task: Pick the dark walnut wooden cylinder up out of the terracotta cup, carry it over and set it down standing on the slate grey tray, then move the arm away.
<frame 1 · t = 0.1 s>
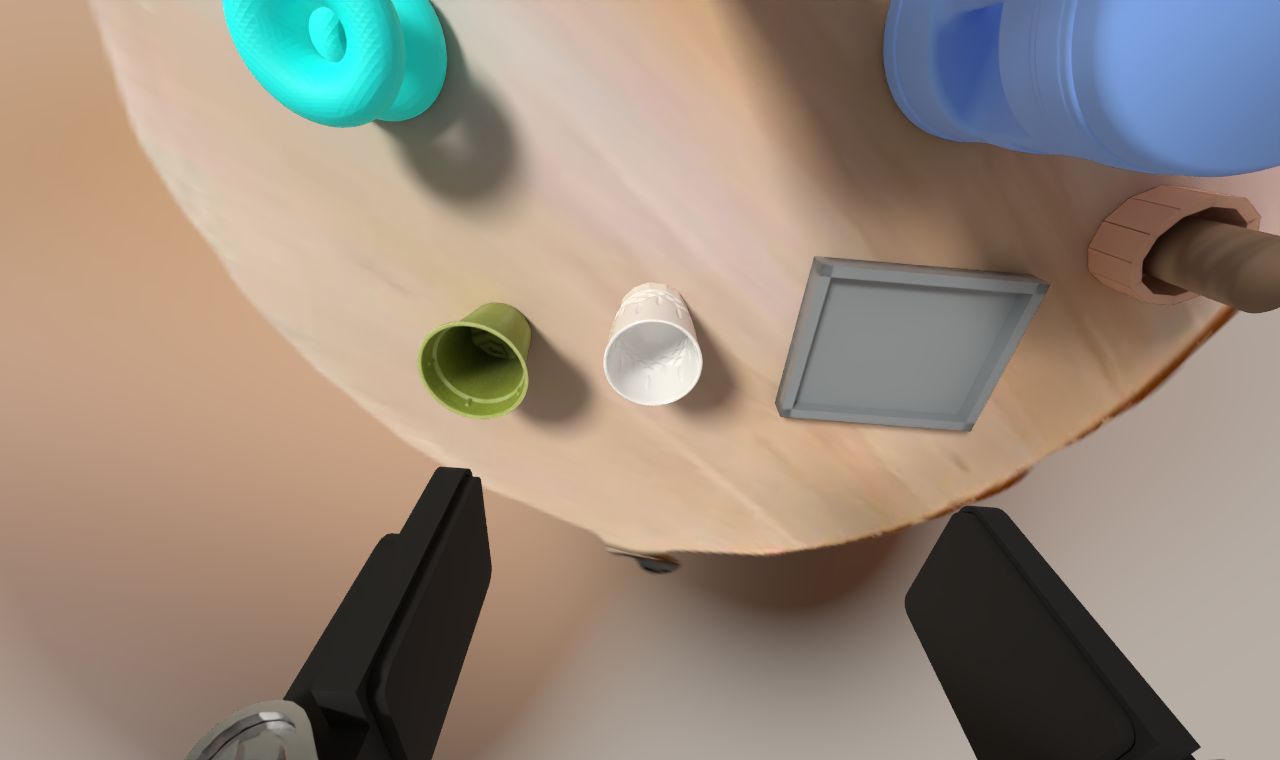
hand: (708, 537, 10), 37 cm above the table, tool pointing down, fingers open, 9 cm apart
water jug: (989, 18, 35), on the table
donuts: (386, 44, 36), on the table
walnut cylinder: (1149, 240, 42), point 1 cm above the table, touching terracotta cup
plant pot: (501, 329, 48), on the table
white cup: (652, 314, 47), on the table
terracotta cup: (1143, 238, 42), on the table
slate tray: (892, 344, 48), on the table
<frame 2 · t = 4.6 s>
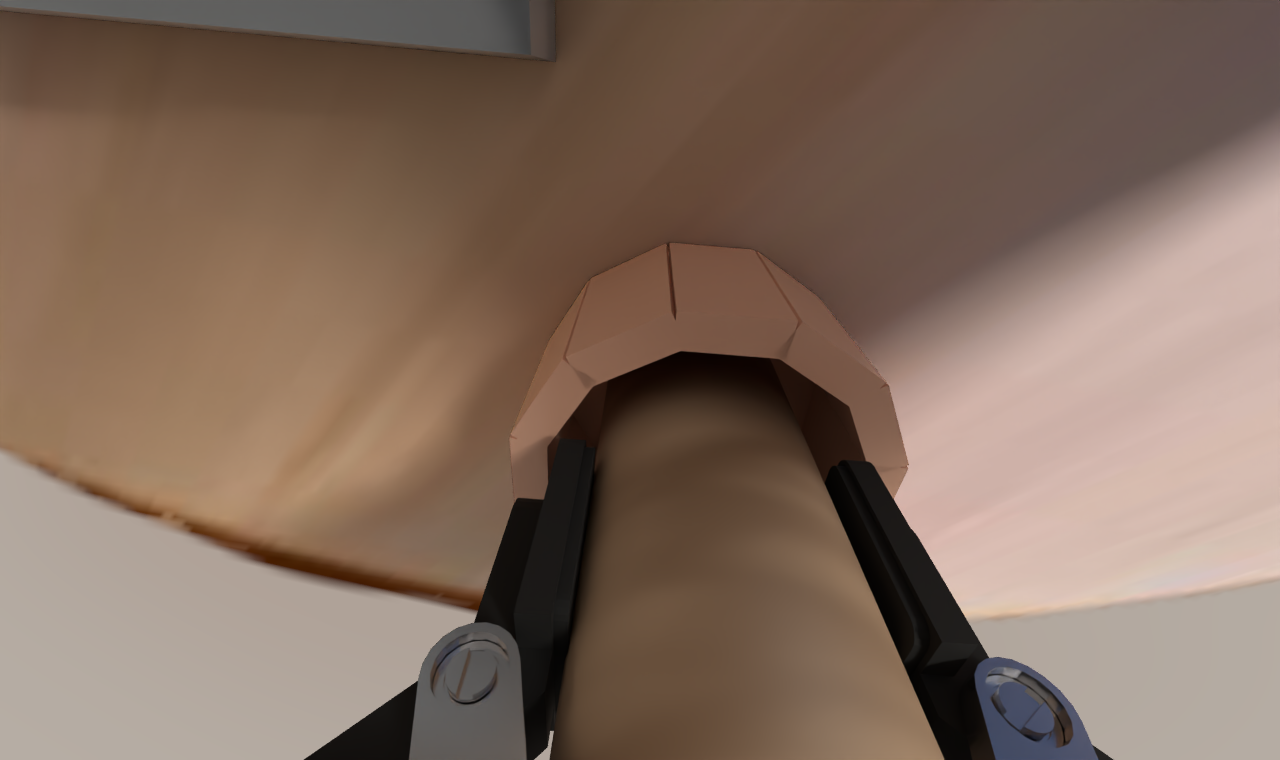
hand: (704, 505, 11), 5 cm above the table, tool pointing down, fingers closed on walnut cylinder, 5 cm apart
walnut cylinder: (691, 396, 14), point 1 cm above the table, touching gripper, terracotta cup
terracotta cup: (689, 386, 15), on the table
when the fingers open (7 cm above the table, at t = 11.6 s): walnut cylinder drops 1 cm, resting on slate tray.
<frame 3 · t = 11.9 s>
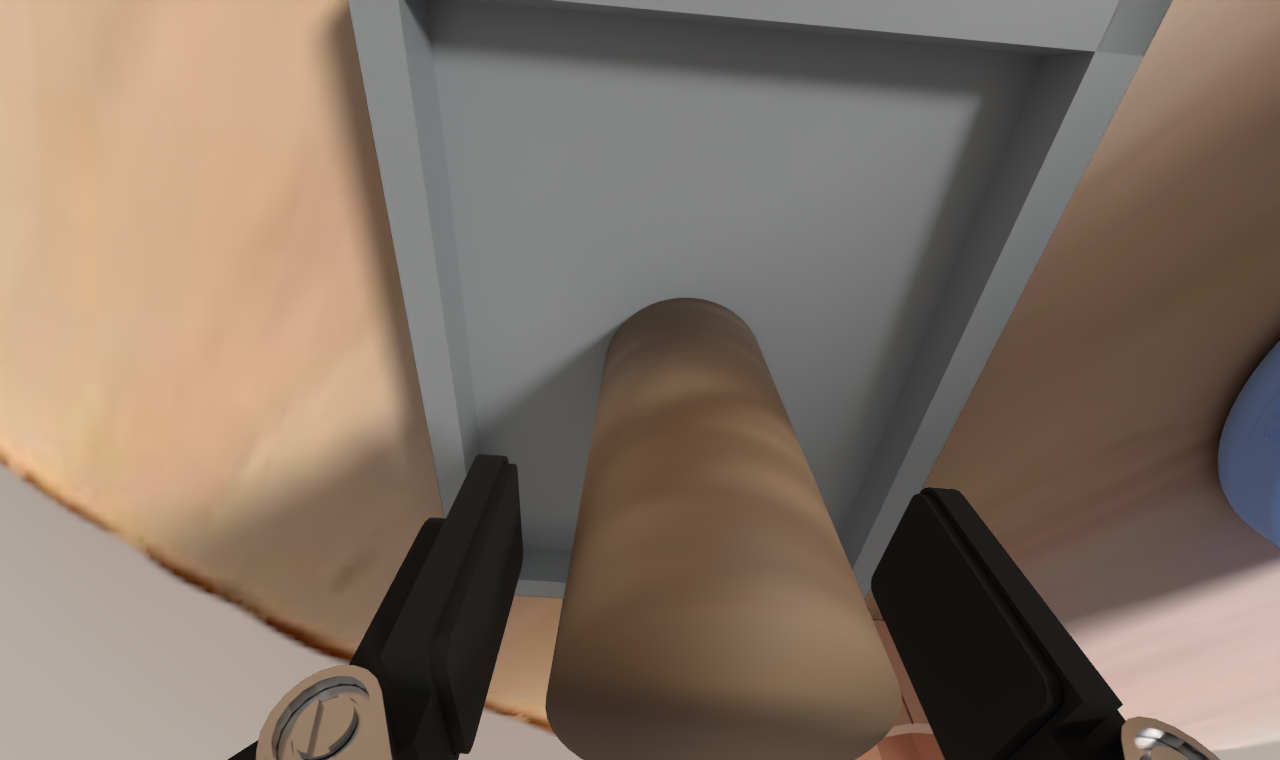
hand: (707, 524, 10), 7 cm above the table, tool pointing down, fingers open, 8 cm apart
walnut cylinder: (682, 371, 16), point 1 cm above the table, touching slate tray
terracotta cup: (865, 669, 26), on the table
slate tray: (686, 356, 16), on the table
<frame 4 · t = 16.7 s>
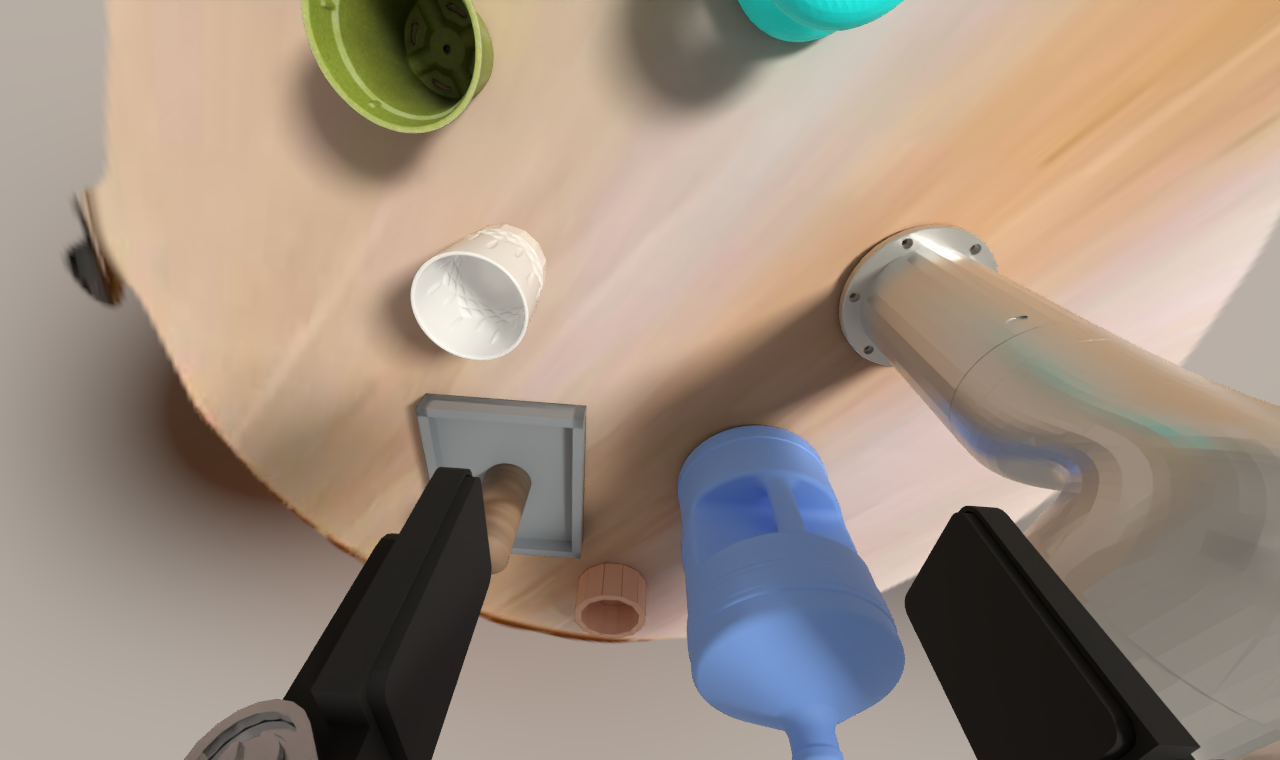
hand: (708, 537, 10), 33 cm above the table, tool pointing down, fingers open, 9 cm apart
water jug: (748, 477, 53), on the table
walnut cylinder: (508, 480, 53), point 1 cm above the table, touching slate tray
plant pot: (451, 48, 34), on the table
white cup: (508, 263, 41), on the table
terracotta cup: (612, 585, 63), on the table
slate tray: (512, 474, 53), on the table
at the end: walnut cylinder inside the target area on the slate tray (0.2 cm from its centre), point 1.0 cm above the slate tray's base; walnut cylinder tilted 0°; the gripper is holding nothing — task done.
